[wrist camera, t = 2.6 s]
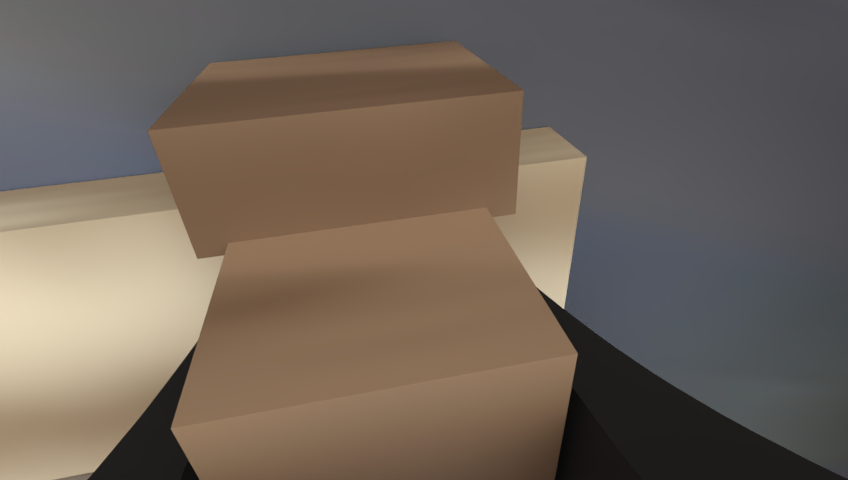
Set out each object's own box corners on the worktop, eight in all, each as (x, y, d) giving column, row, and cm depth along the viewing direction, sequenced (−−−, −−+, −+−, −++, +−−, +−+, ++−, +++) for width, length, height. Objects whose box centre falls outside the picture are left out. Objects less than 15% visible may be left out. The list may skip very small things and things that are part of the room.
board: (520, 422, 18) (540, 472, 17) (-179, 562, 15) (-243, 642, 14) (549, 126, 12) (588, 158, 10) (-665, 269, 9) (-909, 351, 7)
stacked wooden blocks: (460, 372, 15) (546, 641, 10) (307, 400, 15) (298, 707, 9) (455, 41, 10) (662, 190, 4) (209, 62, 9) (6, 284, 3)
